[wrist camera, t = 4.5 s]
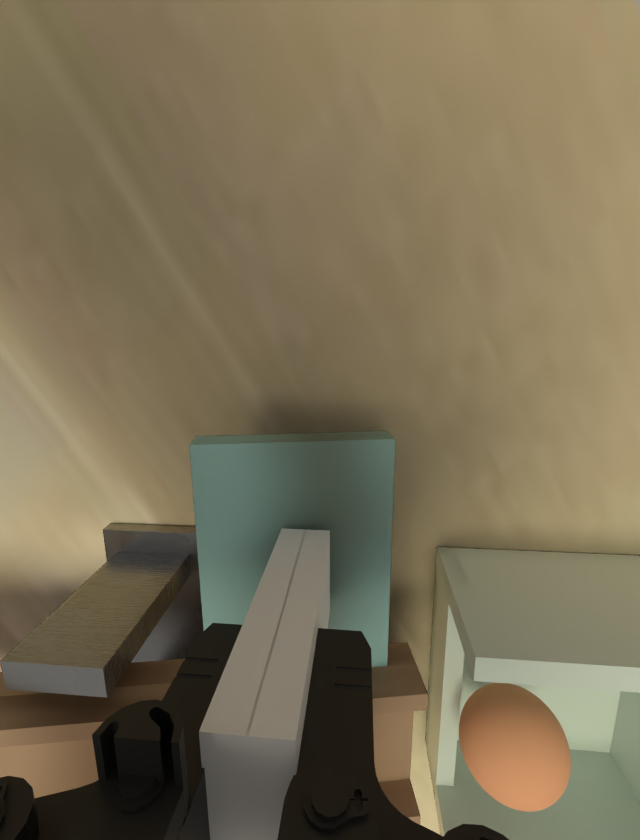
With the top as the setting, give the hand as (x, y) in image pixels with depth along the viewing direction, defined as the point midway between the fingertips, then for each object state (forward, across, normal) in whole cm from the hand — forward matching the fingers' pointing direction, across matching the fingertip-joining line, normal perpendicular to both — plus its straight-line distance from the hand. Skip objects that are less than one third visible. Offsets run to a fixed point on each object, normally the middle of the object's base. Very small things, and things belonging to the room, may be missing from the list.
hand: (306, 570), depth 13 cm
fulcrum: (+5, -7, -7) cm, 11 cm away
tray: (+5, +9, -7) cm, 13 cm away
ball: (+1, +7, -7) cm, 10 cm away
